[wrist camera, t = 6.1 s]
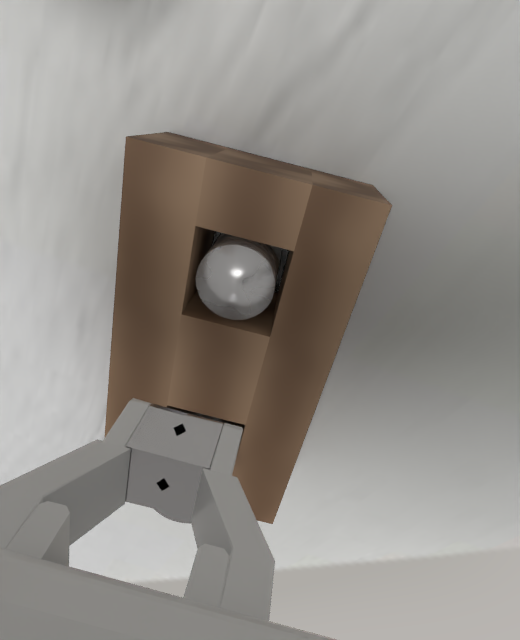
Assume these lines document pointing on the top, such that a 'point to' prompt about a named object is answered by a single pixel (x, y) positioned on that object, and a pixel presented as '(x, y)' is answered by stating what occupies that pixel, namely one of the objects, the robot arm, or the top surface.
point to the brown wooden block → (226, 334)
